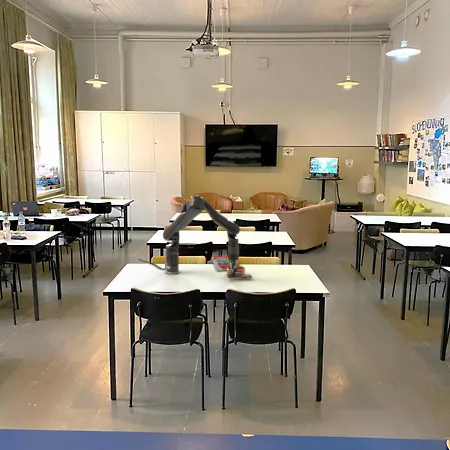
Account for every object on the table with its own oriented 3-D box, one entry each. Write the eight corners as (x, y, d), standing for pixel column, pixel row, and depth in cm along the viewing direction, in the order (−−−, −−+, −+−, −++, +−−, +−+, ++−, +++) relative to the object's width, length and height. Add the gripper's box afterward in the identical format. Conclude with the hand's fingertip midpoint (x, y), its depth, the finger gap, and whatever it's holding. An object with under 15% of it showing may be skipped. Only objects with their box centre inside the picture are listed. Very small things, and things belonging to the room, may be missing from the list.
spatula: (228, 278, 309) (228, 274, 308) (226, 276, 314) (226, 272, 313) (252, 277, 312) (252, 272, 312) (250, 275, 317) (250, 271, 317)
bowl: (224, 272, 330) (224, 266, 329) (242, 271, 333) (242, 265, 332) (229, 277, 317) (229, 270, 316) (247, 276, 320) (247, 269, 319)
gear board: (242, 267, 337) (217, 268, 334) (242, 270, 337) (217, 271, 335) (233, 254, 381) (211, 255, 378) (233, 257, 381) (211, 258, 379)
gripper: (225, 250, 315) (225, 275, 318) (230, 255, 302) (230, 280, 304) (236, 250, 317) (235, 274, 319) (241, 254, 304) (241, 279, 306)
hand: (233, 277), depth 312 cm, fingers closed on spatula, 2 cm apart
